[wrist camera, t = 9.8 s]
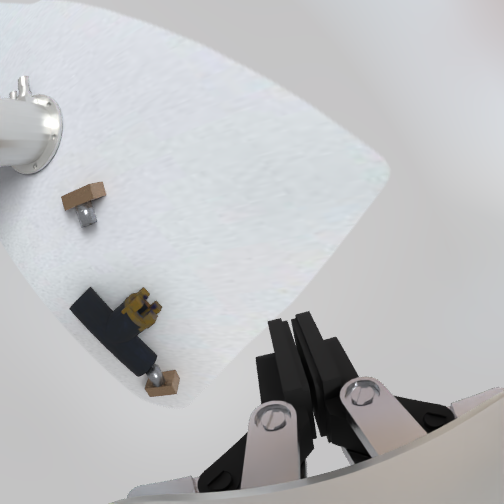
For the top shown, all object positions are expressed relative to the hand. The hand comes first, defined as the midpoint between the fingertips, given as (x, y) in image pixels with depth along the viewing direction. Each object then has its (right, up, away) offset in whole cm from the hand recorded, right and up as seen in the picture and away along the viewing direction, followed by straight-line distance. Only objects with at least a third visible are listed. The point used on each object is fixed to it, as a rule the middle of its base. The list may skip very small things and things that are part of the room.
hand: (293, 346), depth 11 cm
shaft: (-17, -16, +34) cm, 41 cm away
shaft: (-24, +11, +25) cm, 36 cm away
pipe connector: (-21, -6, +31) cm, 38 cm away
